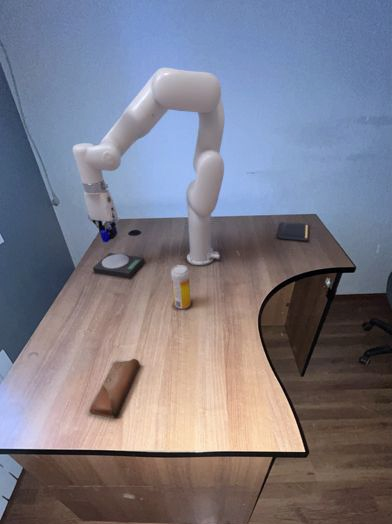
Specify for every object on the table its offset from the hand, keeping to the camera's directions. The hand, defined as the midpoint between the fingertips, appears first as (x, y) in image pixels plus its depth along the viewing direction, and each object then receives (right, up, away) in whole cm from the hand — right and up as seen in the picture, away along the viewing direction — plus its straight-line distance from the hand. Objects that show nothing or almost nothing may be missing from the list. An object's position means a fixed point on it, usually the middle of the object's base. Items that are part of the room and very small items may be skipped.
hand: (108, 236), depth 108 cm
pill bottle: (+31, -30, -8) cm, 43 cm away
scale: (+1, -9, +12) cm, 15 cm away
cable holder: (0, 0, 0) cm, 0 cm away
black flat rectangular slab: (+87, +15, +31) cm, 94 cm away
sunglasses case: (+13, -57, -34) cm, 68 cm away
